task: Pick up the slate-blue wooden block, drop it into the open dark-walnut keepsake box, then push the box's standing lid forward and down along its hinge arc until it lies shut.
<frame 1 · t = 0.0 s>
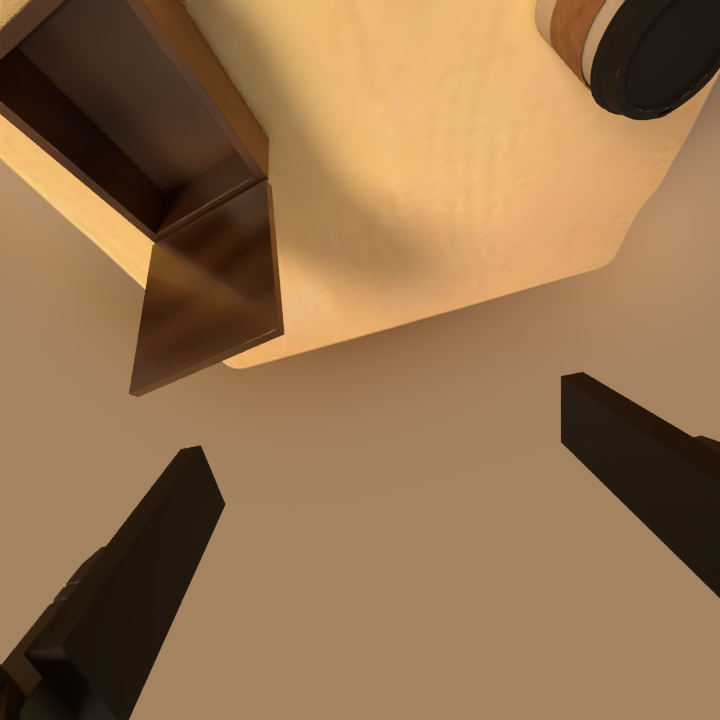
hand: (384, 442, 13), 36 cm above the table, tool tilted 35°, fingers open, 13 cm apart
lid: (206, 281, 30), point 17 cm above the table, hinge at 95.0°
chest: (153, 95, 32), on the table
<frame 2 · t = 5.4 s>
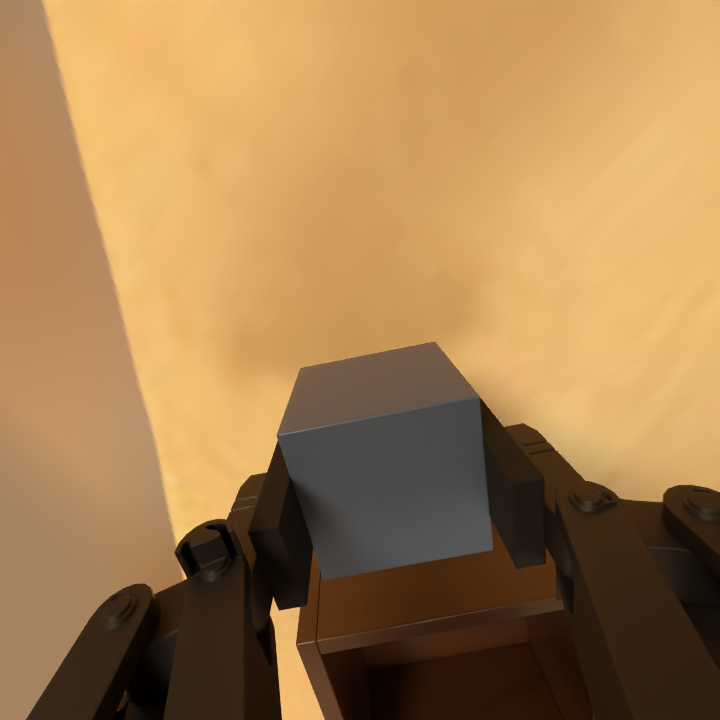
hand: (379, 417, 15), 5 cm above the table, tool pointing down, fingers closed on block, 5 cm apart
block: (379, 414, 15), point 5 cm above the table, touching gripper
chest: (433, 578, 25), on the table
when the fingers open (8 cm above the table, at t = 10.8 s): block stays where it is, resting on chest.
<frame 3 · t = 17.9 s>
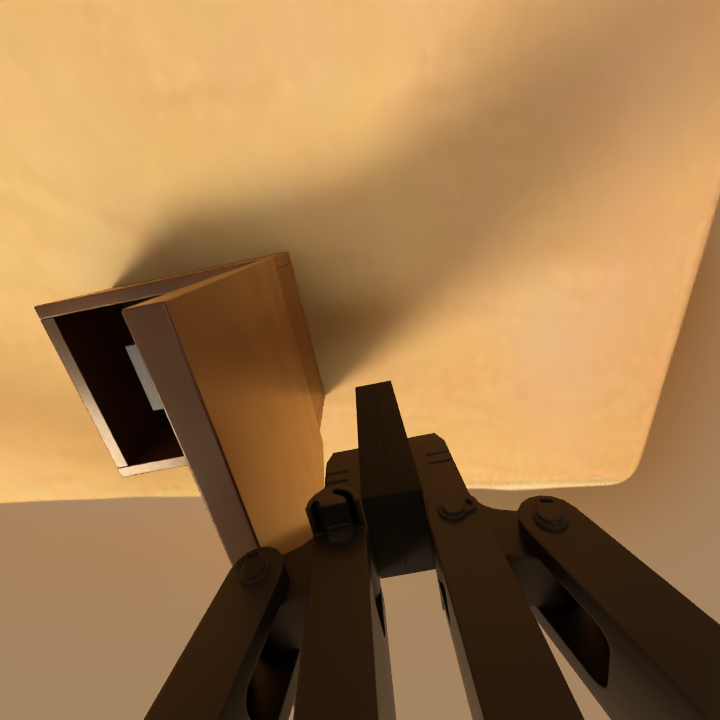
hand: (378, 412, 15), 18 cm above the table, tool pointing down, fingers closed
lid: (284, 417, 16), point 17 cm above the table, hinge at 95.0°, touching gripper
block: (199, 352, 32), point 1 cm above the table, touching chest
chest: (224, 345, 32), on the table
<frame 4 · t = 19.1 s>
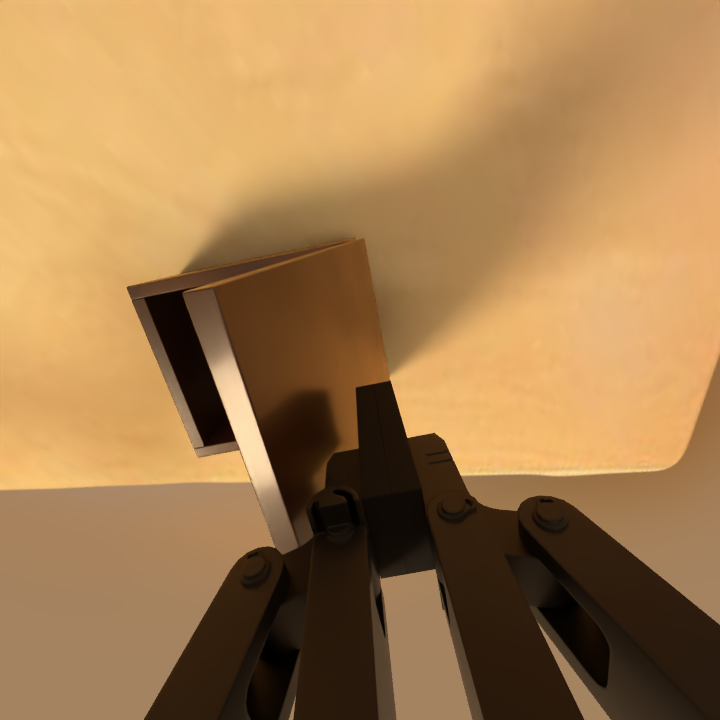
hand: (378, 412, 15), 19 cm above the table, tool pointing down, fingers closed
lid: (350, 395, 17), point 16 cm above the table, hinge at 76.3°, touching gripper
chest: (287, 331, 33), on the table
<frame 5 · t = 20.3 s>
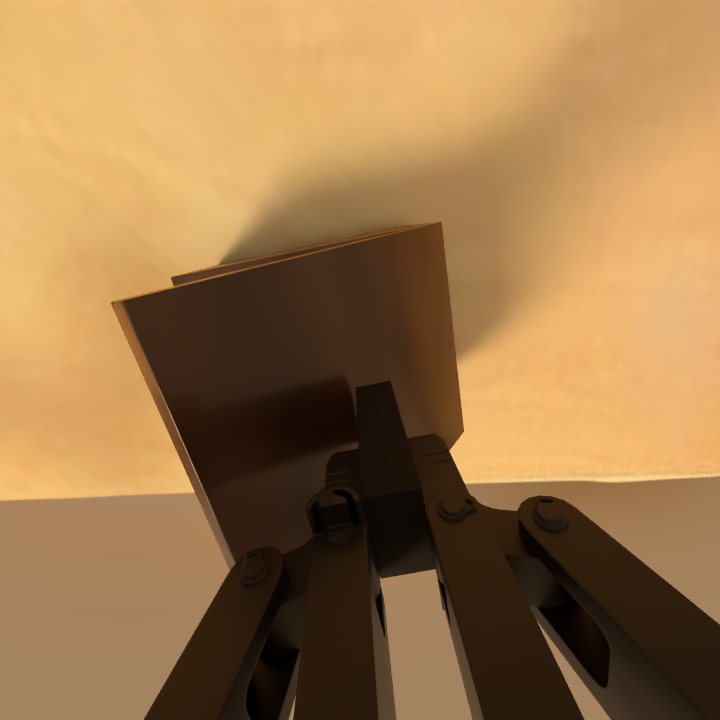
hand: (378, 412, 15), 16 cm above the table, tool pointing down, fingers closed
lid: (372, 397, 16), point 15 cm above the table, hinge at 49.9°, touching gripper
chest: (331, 328, 30), on the table
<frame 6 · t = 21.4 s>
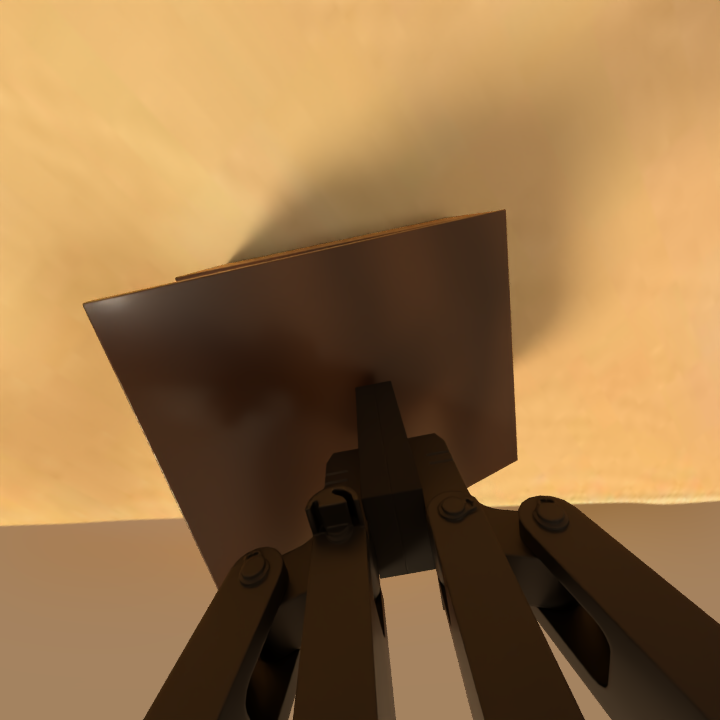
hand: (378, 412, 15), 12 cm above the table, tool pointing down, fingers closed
lid: (368, 404, 16), point 12 cm above the table, hinge at 22.9°, touching gripper
chest: (356, 334, 27), on the table
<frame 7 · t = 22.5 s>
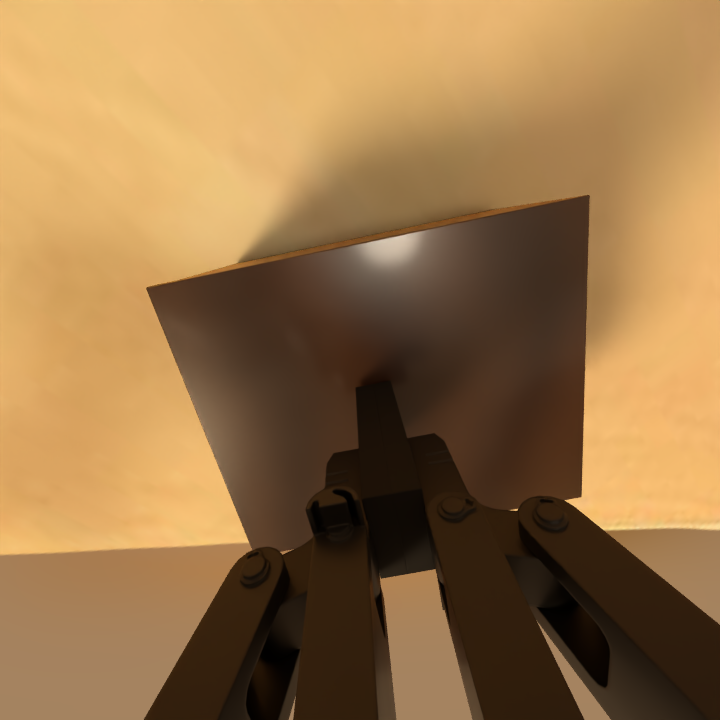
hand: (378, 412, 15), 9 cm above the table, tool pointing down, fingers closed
lid: (392, 402, 16), point 8 cm above the table, hinge at 0.1°, touching gripper
chest: (383, 344, 23), on the table
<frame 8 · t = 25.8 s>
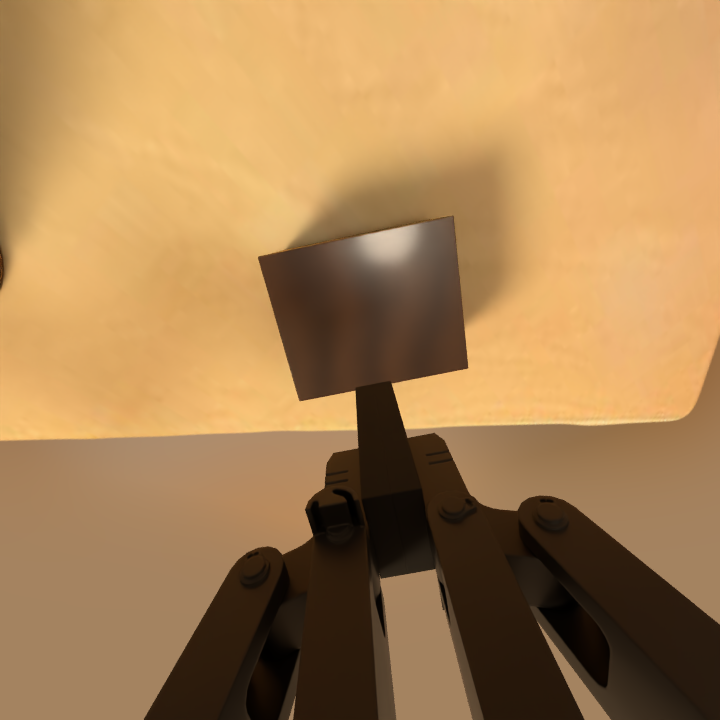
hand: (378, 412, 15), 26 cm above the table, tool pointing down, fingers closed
lid: (369, 315, 32), point 8 cm above the table, hinge at 0.1°
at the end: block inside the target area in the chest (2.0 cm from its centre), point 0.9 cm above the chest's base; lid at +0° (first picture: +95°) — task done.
